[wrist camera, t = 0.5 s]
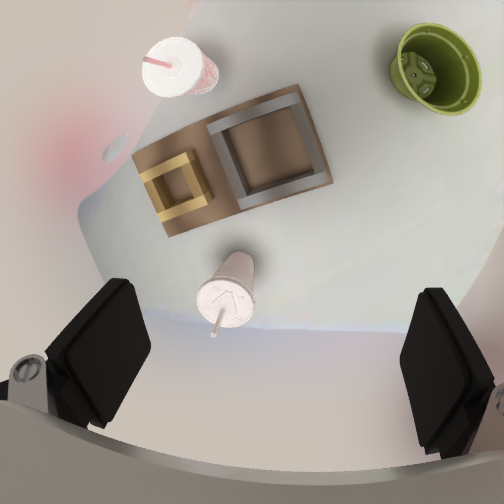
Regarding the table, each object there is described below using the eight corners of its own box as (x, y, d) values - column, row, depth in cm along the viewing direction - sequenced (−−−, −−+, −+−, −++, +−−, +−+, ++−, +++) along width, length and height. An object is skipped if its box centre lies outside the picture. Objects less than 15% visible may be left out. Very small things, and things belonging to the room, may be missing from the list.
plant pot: (415, 129, 30) (447, 135, 22) (359, 71, 28) (378, 58, 20) (458, 84, 26) (495, 80, 18) (406, 26, 24) (433, 6, 17)
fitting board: (297, 84, 30) (298, 80, 26) (332, 180, 34) (336, 189, 31) (135, 153, 36) (119, 159, 32) (172, 234, 40) (159, 246, 37)
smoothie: (212, 275, 42) (179, 342, 30) (223, 235, 39) (188, 294, 27) (256, 290, 42) (238, 362, 30) (270, 250, 39) (256, 317, 27)
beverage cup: (234, 62, 30) (196, 34, 17) (212, 107, 33) (162, 106, 20) (189, 46, 29) (131, 18, 17) (168, 90, 32) (102, 84, 20)
